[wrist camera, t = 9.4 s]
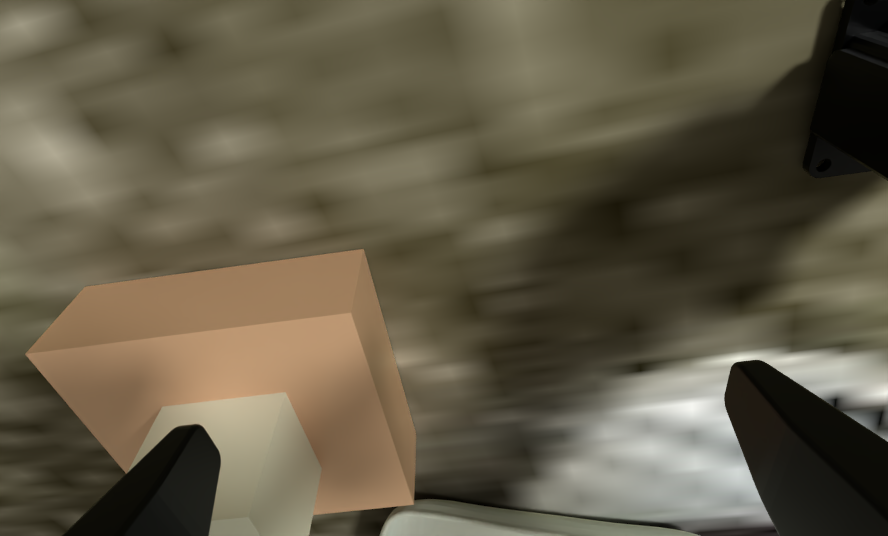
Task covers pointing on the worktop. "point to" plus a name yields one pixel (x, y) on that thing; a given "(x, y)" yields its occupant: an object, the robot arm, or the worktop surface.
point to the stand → (245, 364)
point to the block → (252, 463)
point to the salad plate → (501, 522)
